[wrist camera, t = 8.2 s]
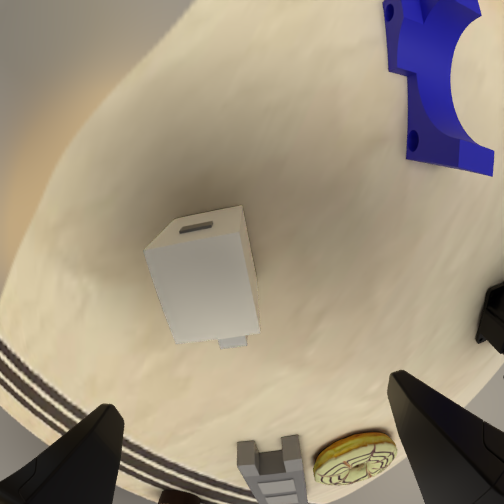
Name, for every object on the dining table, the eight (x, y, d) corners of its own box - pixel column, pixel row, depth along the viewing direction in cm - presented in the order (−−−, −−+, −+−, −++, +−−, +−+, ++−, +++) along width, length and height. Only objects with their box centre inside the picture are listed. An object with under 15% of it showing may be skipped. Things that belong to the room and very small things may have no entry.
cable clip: (381, 3, 13) (419, -32, 7) (432, 21, 13) (476, -2, 7) (386, 155, 17) (437, 162, 11) (437, 165, 17) (492, 176, 11)
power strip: (298, 434, 26) (302, 464, 22) (306, 493, 33) (309, 513, 29) (237, 442, 26) (236, 472, 23) (265, 498, 33) (266, 518, 29)
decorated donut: (334, 474, 31) (338, 495, 27) (294, 454, 28) (298, 479, 24) (400, 442, 29) (408, 463, 25) (374, 415, 26) (384, 441, 22)
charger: (241, 202, 18) (238, 228, 12) (265, 321, 21) (270, 379, 15) (173, 216, 18) (142, 247, 12) (206, 329, 21) (194, 387, 15)
